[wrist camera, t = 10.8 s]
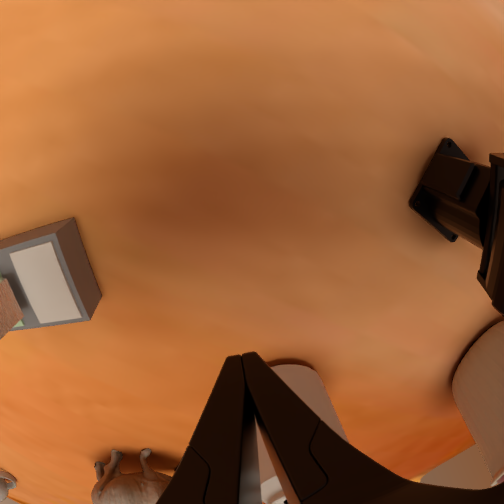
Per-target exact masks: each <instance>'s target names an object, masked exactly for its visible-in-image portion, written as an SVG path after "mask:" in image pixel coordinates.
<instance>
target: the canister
mask: <svg viewBox="0 0 504 504" xmlns="http://www.w3.org/2000/svg"><path fill="white" fill-rule="evenodd" d="M452 393H453V397H454V400H455V403H456V405H457V407H458V409H459V411H460V413H461V415H462V417H463V419H464V421H465V423H466V425H467V427H468V429H469V431H470V433H471V435H472V437H473V439H474V440H475V442H476V444H477V446H478V448H479V450H480V452H481V454H482V456H483V459H484V461H485V463H486V465H487V467H488V469H489V471H490V473H491V475H492V478H493V479H492V481H491V483H490V485H491V486H494V485H495V484H497V483H499V484H500V483H502V482H503V481H504V321H501V322H499V323H497V324H496V325H493V326H492V327H491V328H489V329H488V330H487V331H486V332H485V333H484V334H483V335H482V336H481V337H479V339H478V340H477V341H476V342H475V343H474V344H473V346H472V347H471V348H470V349H469V351H468V352H467V353H466V354H465V356H464V358H463V359H462V360H461V363H460V364H459V365H458V368H457V370H456V372H455V375H454V377H453V381H452Z"/></svg>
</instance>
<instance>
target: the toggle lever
mask: <svg viewBox="0 0 504 504" xmlns="http://www.w3.org/2000/svg"><path fill="white" fill-rule="evenodd" d="M23 317H24V315H23V313H22V311H21V309H20V307H19V304H18V302H17V300H16V298H15V296H14V294H13V292H12V290H11V287H10V285H9V283H8V280H7V278H0V339H1V338H2V337H3V336H4V335H5V334H6V333H7V332H8V331H9V330H11V329H12V328H13V327H14V326H15V325H16V324H17V323H18V322H19V321H20V320H21V319H22V318H23Z"/></svg>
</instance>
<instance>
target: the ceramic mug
mask: <svg viewBox="0 0 504 504" xmlns="http://www.w3.org/2000/svg"><path fill="white" fill-rule="evenodd" d="M4 478H5V479H9V480H11V481H12V482H11V483H6V481H5V480H4ZM15 487H16V480H15V478H14V477H13V476H12V475H11V474H9V473H7V472H4V471H0V502H1V501H3V500H5V499H6V497H7V495H8V489H13V488H15Z"/></svg>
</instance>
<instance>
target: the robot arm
mask: <svg viewBox="0 0 504 504" xmlns="http://www.w3.org/2000/svg"><path fill="white" fill-rule="evenodd" d="M447 143H448V146H447ZM489 162H491V167H489V166H486V165H483V164H479V163H475V162H472V161H470V160H469V159H468V158H467V157H466V155H465V154H464V153H463V152H462V151H461V149H460V148H459V147H458V146H457V145H456V144H455V143H454V141H453V140H452V139H450V138H444V139H443V140H442V142H441V144H440V146H439V148H438V150H437V152H436V154H435V156H434V158H433V160H432V162H431V163H430V165H429V167H428V169H427V171H426V173H425V175H424V177H423V178H422V180H421V182H420V184H419V186H418V187H417V189H416V191H415V193H414V195H413V196H412V198H411V200H410V207H411V209H413V210H414V211H415V212H416V213H417V214H419V215H420V216H421V217H422V218H423V219H425V220H426V221H427V222H428V223H429V224H430V225H431V226H433V227H434V228H435V229H436V230H437V231H438V232H439V233H441V234H442V235H443V236H444V237H445V238H446V239H447V240H449V241H450V242H455V241H456V239H457V238H458V236H460V237H462V238H464V239H466V240H467V241H469V242H471V243H472V244H474V245H476V246H477V247H479V248H481V249H482V250H483V252H482V258H481V264H480V269H479V270H478V273H477V280H478V281H479V282H480V284H481V285H482V287H483V288H484V290H485V291H486V292H487V294H488V295H489V297H490V298H491V300H492V305H493V307H494V308H495V309H496V310H497V311H498V312H499V313H500V314H502V316H504V153H489ZM416 202H417V205H416V206H415V203H416ZM452 235H453V236H452ZM255 419H256V421H255ZM256 422H257V425H258V428H259V431H260V434H261V437H262V439H263V442H264V444H265V447H266V450H267V452H268V455H269V457H270V460H271V462H272V465H273V467H274V470H275V472H276V475H277V477H278V480H279V482H280V485H281V487H282V490H283V492H284V494H285V497H286V499H287V502H288V504H504V481H503V482H502V483H500V484H499V485H497V486H494V487H492V488H488V489H482V490H472V489H461V488H452V487H444V486H437V485H430V484H423V483H418V482H414V481H410V480H407V479H405V478H402V477H400V476H398V475H396V474H395V473H393V472H391V471H390V470H388V469H387V468H385V467H383V466H382V465H380V464H379V463H377V462H376V461H374V460H373V459H371V458H370V457H368V456H367V455H365V454H364V453H362V452H361V451H359V450H358V449H356V448H355V447H354V446H352V445H351V444H349V443H348V442H347V441H345V440H344V439H343V438H342V437H341V436H339V435H338V434H337V433H336V432H335V431H334V430H333V429H331V428H330V427H329V426H328V425H327V424H326V423H325V422H324V421H323V420H321V418H320V417H319V416H318V415H317V414H316V413H315V412H314V411H313V410H312V409H311V408H310V407H309V406H308V405H307V404H306V403H305V402H304V401H303V400H302V399H301V398H300V397H299V396H298V395H297V394H296V393H295V392H294V391H293V390H292V389H291V388H290V387H289V386H288V385H287V384H286V383H285V382H284V381H283V380H282V379H281V378H280V377H279V376H278V375H277V374H276V373H275V372H274V371H273V370H272V369H271V367H270V366H269V365H268V364H267V363H266V362H265V361H264V360H263V359H262V358H261V357H260V356H259V355H258V354H257V353H256V352H254V351H253V352H248V353H243V354H242V357H241V355H239V354H238V355H233V356H228V357H227V358H226V360H225V362H224V364H223V367H222V369H221V371H220V374H219V376H218V378H217V380H216V383H215V385H214V387H213V390H212V392H211V394H210V397H209V399H208V401H207V404H206V406H205V408H204V410H203V413H202V415H201V417H200V419H199V422H198V424H197V426H196V429H195V431H194V433H193V435H192V438H191V440H190V442H189V446H187V448H186V451H185V453H184V455H183V457H182V459H181V461H180V463H179V465H178V467H177V469H176V471H175V473H174V475H173V476H172V478H171V480H170V482H169V483H168V485H167V486H166V488H165V490H164V491H163V493H162V494H161V496H160V497H159V499H158V500H157V502H156V503H155V504H262V497H261V484H260V470H259V457H258V443H257V429H256Z"/></svg>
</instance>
